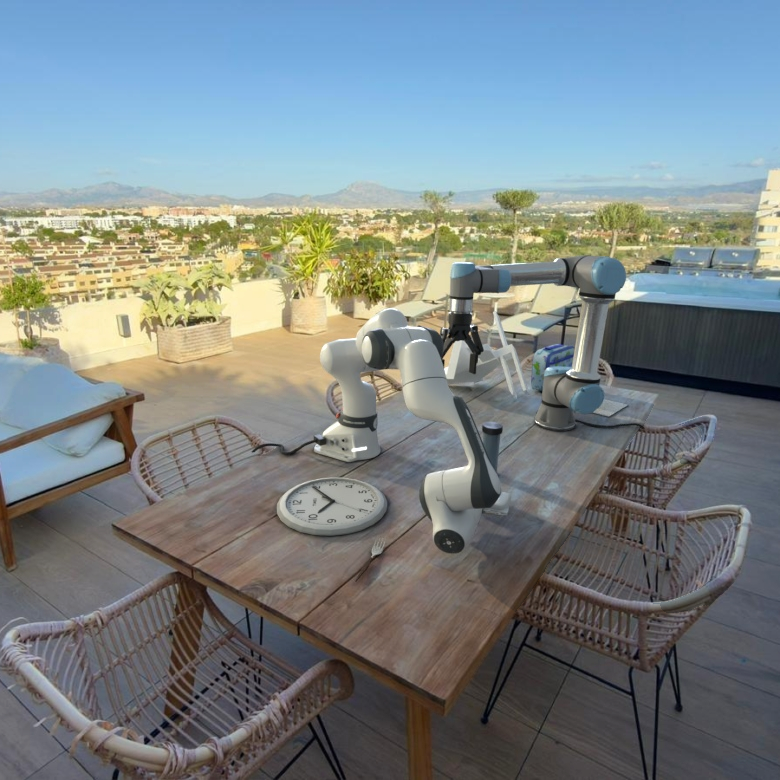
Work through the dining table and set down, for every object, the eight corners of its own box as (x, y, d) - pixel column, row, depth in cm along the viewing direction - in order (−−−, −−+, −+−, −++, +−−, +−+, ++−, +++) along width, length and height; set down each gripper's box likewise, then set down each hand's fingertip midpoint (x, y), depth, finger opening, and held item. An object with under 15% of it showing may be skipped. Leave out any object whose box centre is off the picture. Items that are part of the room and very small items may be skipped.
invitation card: (608, 416, 214) (573, 407, 224) (608, 416, 214) (573, 408, 224) (628, 404, 229) (594, 396, 238) (628, 405, 229) (594, 397, 238)
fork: (349, 582, 112) (349, 574, 111) (377, 542, 126) (377, 535, 125) (361, 585, 111) (361, 577, 110) (387, 544, 125) (387, 537, 125)
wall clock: (392, 527, 129) (268, 531, 127) (391, 533, 130) (269, 537, 127) (383, 473, 158) (282, 475, 155) (383, 478, 158) (282, 480, 156)
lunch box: (547, 396, 238) (552, 351, 232) (526, 391, 246) (531, 347, 239) (574, 385, 256) (579, 343, 250) (554, 380, 263) (559, 340, 257)
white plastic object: (461, 429, 252) (437, 405, 227) (444, 352, 274) (420, 323, 250) (535, 404, 240) (518, 377, 215) (510, 326, 262) (492, 293, 237)
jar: (499, 472, 164) (503, 425, 159) (493, 478, 160) (497, 430, 155) (484, 468, 166) (487, 422, 161) (478, 474, 162) (481, 427, 157)
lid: (505, 430, 160) (505, 424, 159) (498, 436, 155) (498, 430, 154) (486, 426, 163) (486, 420, 162) (479, 432, 158) (479, 426, 157)
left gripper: (508, 505, 125) (515, 480, 138) (426, 489, 132) (440, 467, 144) (505, 528, 127) (513, 501, 139) (425, 511, 134) (439, 487, 146)
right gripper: (482, 307, 177) (477, 368, 183) (421, 312, 164) (419, 377, 171) (497, 311, 171) (492, 373, 177) (436, 316, 158) (433, 383, 164)
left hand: (475, 484), depth 142 cm, fingers open, 8 cm apart
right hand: (456, 375), depth 174 cm, fingers open, 13 cm apart
